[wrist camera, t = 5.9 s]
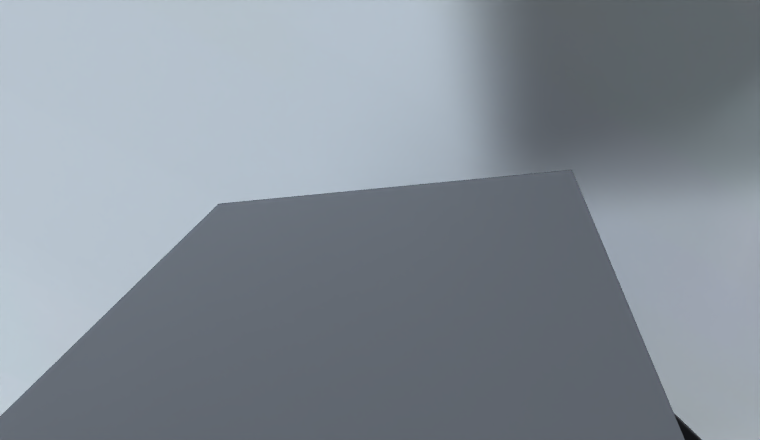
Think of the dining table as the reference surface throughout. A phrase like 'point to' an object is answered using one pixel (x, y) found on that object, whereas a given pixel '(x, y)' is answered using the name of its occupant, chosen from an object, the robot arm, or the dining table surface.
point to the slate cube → (367, 327)
